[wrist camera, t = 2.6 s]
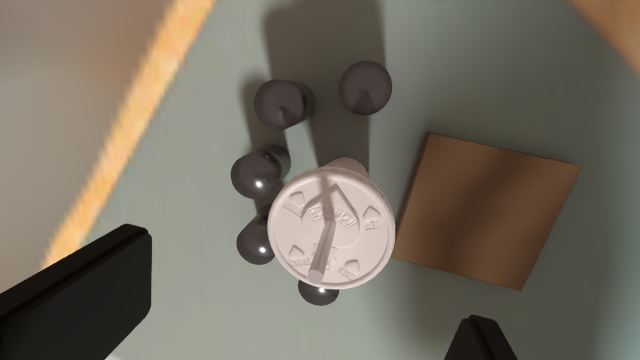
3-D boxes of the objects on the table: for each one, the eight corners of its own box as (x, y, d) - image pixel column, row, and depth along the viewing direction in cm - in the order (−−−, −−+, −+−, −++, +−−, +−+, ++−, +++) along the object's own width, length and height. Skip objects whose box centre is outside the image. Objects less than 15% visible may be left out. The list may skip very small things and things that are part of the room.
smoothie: (394, 148, 22) (430, 228, 9) (376, 224, 24) (384, 383, 11) (311, 133, 23) (231, 186, 10) (300, 208, 25) (220, 339, 12)
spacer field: (392, 72, 21) (398, 66, 17) (340, 274, 26) (334, 310, 22) (270, 47, 22) (246, 36, 17) (243, 248, 27) (219, 277, 23)
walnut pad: (571, 163, 21) (581, 166, 20) (515, 282, 24) (521, 290, 23) (427, 132, 22) (429, 133, 21) (390, 250, 25) (391, 256, 24)
